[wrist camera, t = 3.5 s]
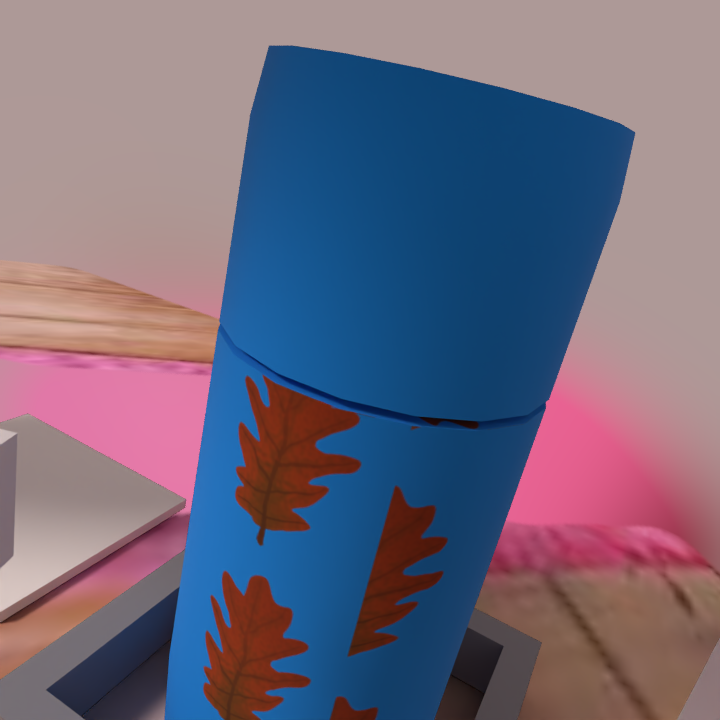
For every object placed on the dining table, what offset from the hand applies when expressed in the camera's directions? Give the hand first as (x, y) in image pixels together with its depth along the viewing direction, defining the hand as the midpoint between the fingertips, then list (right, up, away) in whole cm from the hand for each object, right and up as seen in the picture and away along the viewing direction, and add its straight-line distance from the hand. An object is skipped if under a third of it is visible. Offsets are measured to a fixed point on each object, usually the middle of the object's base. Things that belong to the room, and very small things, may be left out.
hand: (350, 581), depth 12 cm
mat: (-19, -4, +24) cm, 31 cm away
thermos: (-3, -11, +15) cm, 19 cm away
